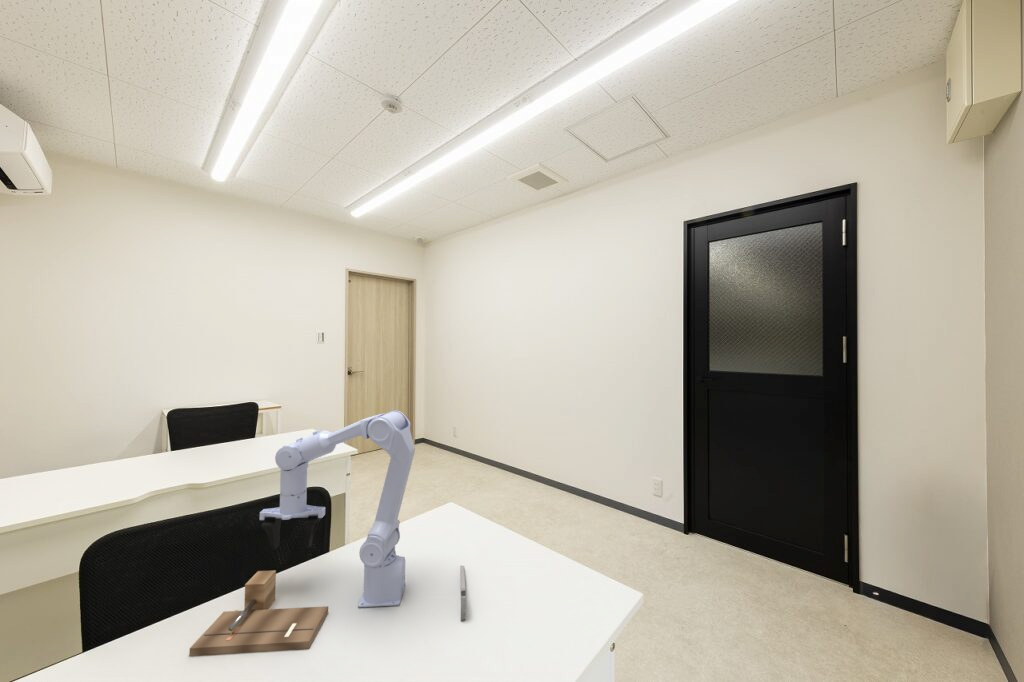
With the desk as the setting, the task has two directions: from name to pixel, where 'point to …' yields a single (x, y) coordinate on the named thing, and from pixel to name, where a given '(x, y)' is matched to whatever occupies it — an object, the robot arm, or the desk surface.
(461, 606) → the caliper
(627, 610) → the desk surface
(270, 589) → the marking gauge
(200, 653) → the walnut board
